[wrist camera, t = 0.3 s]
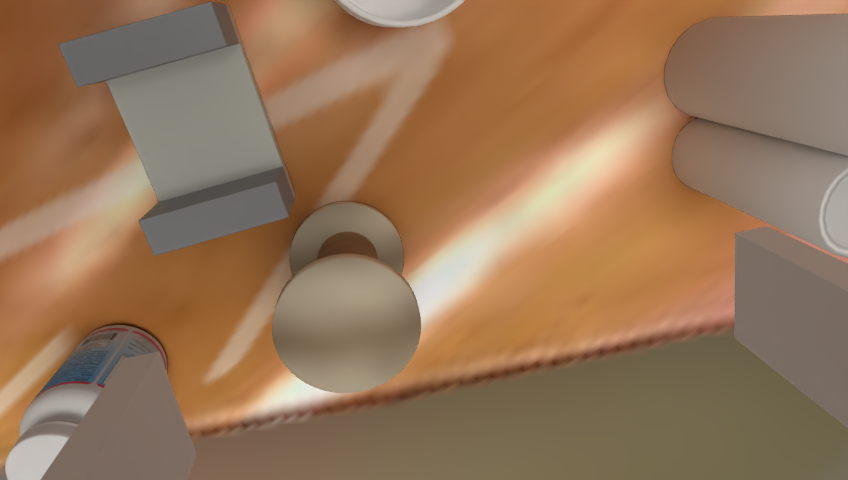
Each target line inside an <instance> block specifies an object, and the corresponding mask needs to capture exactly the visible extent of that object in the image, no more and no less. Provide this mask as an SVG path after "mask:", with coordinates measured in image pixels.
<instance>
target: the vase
mask: <svg viewBox="0 0 848 480" xmlns="http://www.w3.org/2000/svg"><path fill="white" fill-rule="evenodd" d="M664 83H665V87H666V90H667V94H668V97H669V98H670V100H671V101H672V102H673V104H674V105H675V107H676V108H678V109H679V110H681V111H682V112H684V113H685V114H687V115H690V116H694V117H698V118H697V119H695V120H693V121H691V122H689V123H688V124H687V125H686V126H685V127H684V128H683V129H682V130H681V131H680V133H679V134H678V136H677V138H676V139H675V142H674V146H673V149H672V165H673V168H674V172H675V174H676V175H677V177H678V178H679V180H680V181H681V182H683V183H684V184H685V185H687V186H689V187H691V188H693V189H695V190H697V191H699V192H702V193H704V194H706V195H708V196H710V197H712V198H714V199H717V200H719V201H721V202H723V203H725V204H727V205H730V206H732V207H734V208H736V209H738V210H740V211H742V212H745V213H747V214H749V215H751V216H753V217H755V218H757V219H760V220H762V221H764V222H766V223H768V224H770V225H773V226H775V227H777V228H779V229H781V230H783V231H785V232H788V233H790V234H792V235H794V236H796V237H798V238H801V239H803V240H805V241H807V242H809V243H811V244H813V245H816V246H818V247H820V248H822V249H824V250H826V251H829V252H831V253H833V254H835V255H839V256H843V257H847V258H848V14H816V15H780V16H745V17H719V18H711V19H706V20H704V21H702V22H699V23H697V24H695V25H693V26H692V27H690V28H689V29H688V30H687V31H686V32H685V33H683V34H682V35H681V36H680V37H679V39H678V40H677V41H676V43H675V44H674V46H673V47H672V49H671V50H670V53H669V56H668V59H667V62H666V65H665V75H664Z"/></svg>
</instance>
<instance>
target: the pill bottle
mask: <svg viewBox="0 0 848 480" xmlns="http://www.w3.org/2000/svg"><path fill="white" fill-rule="evenodd" d="M154 352H159V353H160V356H161V358H162V361H163V364H164V367H165V369H166V372H167V360H166V355H165V352H164V350H163V348H162V346H161V345H160V344H159V342H158V341H157V340H156V339H155V338H154V337H152V336H151V335H150V334H148V333H147V332H145V331H143V330H141V329H138V328H135V327H131V326H126V325H112V326H106V327H103V328H100V329H97V330H95V331H93V332H92V333H90V334H89V335H88V336H86V337H85V338H84V339H83V340H82V342H81V343H80V344H79V345H78V346H77V347H76V349H75V350H74V351H73V352H72V353H71V355H70V356H69V357H68V358H67V360H66V361H65V362H64V363H63V364H62V366H61V367H60V368H59V369H58V371H57V372H56V373H55V374H54V376H53V377H52V378H51V379H50V380H49V382H48V383H47V384H46V385H45V386H44V388H43V389H42V390H41V391H40V393H39V394H38V395H37V396H36V398H35V399H34V400H33V401H32V402H31V404H30V405H29V407H28V408H27V409H26V411H25V413H24V415H23V417H22V420H21V423H20V438H19V440H18V441H17V443H16V444H15V445H14V447H13V448H12V449H11V451H10V453H9V454H8V457H7V460H6V463H5V471H6V475H7V478H8V480H41V478H42V477H43V475H44V474H45V472H46V471H47V469H48V468H49V466H50V465H51V464H52V462H53V461H54V459H55V458H56V456H57V455H58V453H59V452H60V450H61V449H62V448H63V446H64V445H65V443H66V442H67V440H68V439H69V437H70V436H71V434H72V433H73V432H74V430H75V429H76V427H77V426H78V424H79V423H80V421H81V420H82V418H83V417H84V416H85V414H86V413H87V411H88V410H89V408H90V407H91V405H92V404H93V402H94V401H95V400H96V398H97V397H98V395H99V394H100V392H101V391H102V389H103V388H104V386H105V385H106V384H107V382H108V381H109V379H110V378H111V376H112V375H113V373H114V372H115V370H116V369H117V368H118V366H119V365H120V363H121V362H122V360H123V359H125V358H130V357H135V356H140V355H145V354H150V353H154Z"/></svg>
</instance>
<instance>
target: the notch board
mask: <svg viewBox="0 0 848 480" xmlns="http://www.w3.org/2000/svg"><path fill="white" fill-rule="evenodd" d="M58 46H59V48H60V50H61V52H62V55H63V57H64V59H65V61H66V63H67V66H68V68H69V70H70V72H71V74H72V77H73V79H74V81H75V83H76V85H77V87H81V86H85V85H90V84H94V83H99V82H103V81H106V82H107V84H108V86H109V89H110V91H111V93H112V96H113V98H114V100H115V102H116V105H117V107H118V109H119V112H120V114H121V116H122V118H123V121H124V123H125V125H126V128H127V130H128V132H129V134H130V137H131V139H132V141H133V143H134V146H135V148H136V150H137V153H138V155H139V157H140V159H141V162H142V164H143V166H144V169H145V171H146V173H147V175H148V178H149V180H150V182H151V185H152V187H153V189H154V191H155V194H156V196H157V198H158V200H159V202H158V203H157V204H156V205H155V206H154V207H153V208H152V209H151V210H150V211H149V212H148V213H147V214H145V215H144V216H143V217H142V218H141V219H140V220H139V223H140V225H141V228H142V230H143V232H144V234H145V236H146V239H147V241H148V243H149V245H150V247H151V250H152V252H153V254H154V256H156V255H159V254H163V253H166V252H170V251H173V250H177V249H180V248H184V247H187V246H191V245H194V244H198V243H201V242H205V241H208V240H212V239H215V238H218V237H222V236H225V235H229V234H232V233H236V232H239V231H243V230H246V229H250V228H253V227H257V226H260V225H264V224H267V223H271V222H274V221H278V220H281V219H284V218H288V217H289V215H290V211H291V208H292V205H293V202H294V198H295V192H294V189H293V186H292V183H291V181H290V178H289V175H288V172H287V169H286V166H285V164H284V161H283V158H282V155H281V152H280V149H279V147H278V144H277V141H276V138H275V135H274V132H273V130H272V127H271V124H270V121H269V118H268V115H267V112H266V110H265V107H264V104H263V101H262V98H261V95H260V93H259V90H258V87H257V84H256V81H255V78H254V76H253V73H252V70H251V67H250V64H249V61H248V59H247V56H246V53H245V50H244V47H243V44H242V42H241V39H240V36H239V33H238V30H237V27H236V25H235V22H234V19H233V16H232V13H231V10H230V7H229V5H225V4H220V3H215V2H208V3H204V4H201V5H197V6H193V7H190V8H186V9H183V10H179V11H175V12H172V13H168V14H165V15H161V16H157V17H154V18H150V19H147V20H143V21H140V22H136V23H132V24H129V25H125V26H122V27H118V28H114V29H111V30H107V31H104V32H100V33H96V34H93V35H89V36H86V37H82V38H78V39H75V40H71V41H68V42H64V43H60V44H58Z"/></svg>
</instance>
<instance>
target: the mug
mask: <svg viewBox="0 0 848 480" xmlns="http://www.w3.org/2000/svg"><path fill="white" fill-rule="evenodd" d="M464 1H465V0H335V2H336V3H337V4H338V5H339V6H340V7H341V8H342V9H343V10H345V11H346V12H347V13H349V14H350V15H351V16H353V17H355V18H356V19H358V20H360V21H363V22H365V23H367V24H371V25H375V26H380V27H413V26H420V25H423V24H427V23H430V22H433V21H435V20H438V19H440V18H442V17H444V16H445V15H447V14H449V13H450V12H452V11H453V10H455V9H456V8H457V7H458V6H459V5H461V4H462V3H463V2H464Z"/></svg>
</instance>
